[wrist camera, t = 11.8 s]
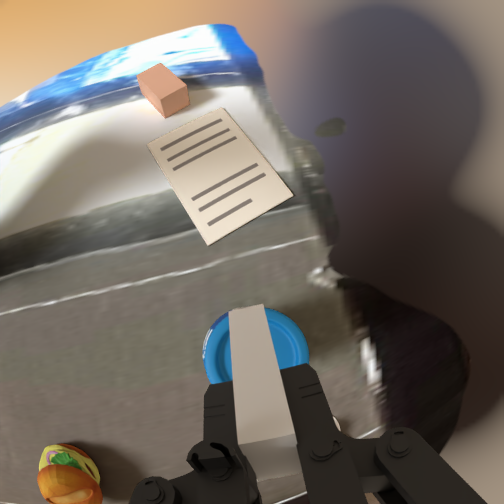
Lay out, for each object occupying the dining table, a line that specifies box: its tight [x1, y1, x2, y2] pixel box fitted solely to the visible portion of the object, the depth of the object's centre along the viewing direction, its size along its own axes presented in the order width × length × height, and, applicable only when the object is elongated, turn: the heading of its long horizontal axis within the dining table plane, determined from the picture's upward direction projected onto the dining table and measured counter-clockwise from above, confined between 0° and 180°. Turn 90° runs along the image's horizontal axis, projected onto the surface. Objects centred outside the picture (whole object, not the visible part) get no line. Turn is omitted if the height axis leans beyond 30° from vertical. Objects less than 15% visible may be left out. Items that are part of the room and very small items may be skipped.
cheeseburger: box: [37, 443, 103, 504], centre depth 26 cm, size 10×11×10 cm
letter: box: [147, 107, 293, 246], centre depth 44 cm, size 14×20×1 cm
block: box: [137, 63, 190, 118], centre depth 46 cm, size 5×5×9 cm
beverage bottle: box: [203, 306, 309, 384], centre depth 27 cm, size 8×8×20 cm
